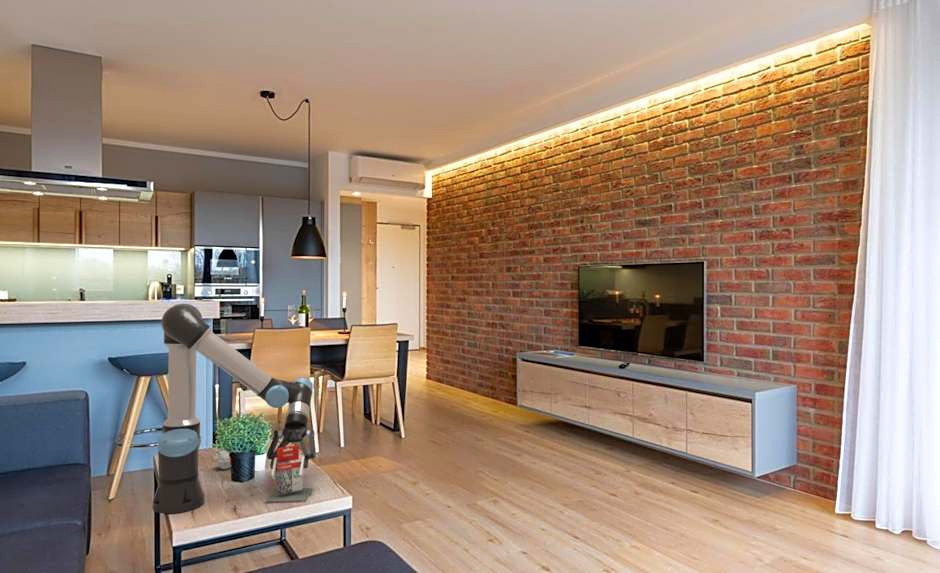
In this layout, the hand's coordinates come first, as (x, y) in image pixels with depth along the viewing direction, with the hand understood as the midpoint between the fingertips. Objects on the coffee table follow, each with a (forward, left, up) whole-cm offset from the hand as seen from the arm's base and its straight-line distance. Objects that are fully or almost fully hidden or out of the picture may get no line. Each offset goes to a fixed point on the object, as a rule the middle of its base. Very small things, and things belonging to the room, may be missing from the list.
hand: (287, 476), depth 200 cm
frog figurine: (-32, +36, -8) cm, 49 cm away
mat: (0, +3, -7) cm, 8 cm away
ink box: (0, +3, -6) cm, 7 cm away
